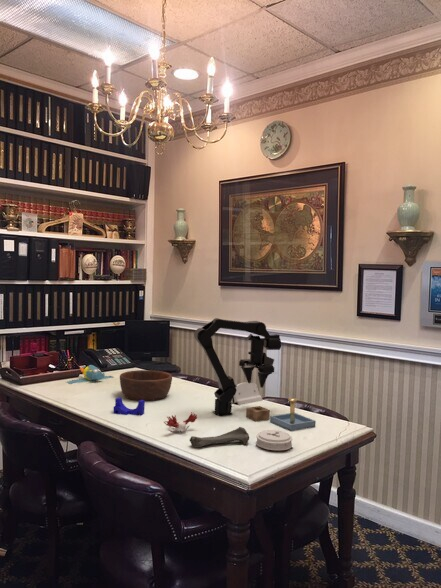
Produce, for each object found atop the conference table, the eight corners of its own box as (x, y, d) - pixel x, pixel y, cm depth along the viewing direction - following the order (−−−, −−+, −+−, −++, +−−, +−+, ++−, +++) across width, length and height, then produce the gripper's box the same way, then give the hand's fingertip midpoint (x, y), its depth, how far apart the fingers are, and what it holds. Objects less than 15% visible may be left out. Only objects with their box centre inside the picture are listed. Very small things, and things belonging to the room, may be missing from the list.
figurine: (184, 424, 197) (185, 407, 197) (203, 431, 188) (204, 414, 188) (153, 430, 187) (153, 413, 187) (171, 439, 178) (172, 420, 178)
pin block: (255, 421, 204) (256, 412, 204) (246, 417, 210) (246, 407, 210) (269, 419, 208) (269, 410, 208) (259, 415, 214) (259, 406, 214)
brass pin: (291, 424, 200) (291, 400, 200) (286, 422, 203) (286, 398, 203) (298, 423, 202) (298, 399, 201) (293, 421, 204) (292, 397, 204)
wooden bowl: (108, 398, 232) (109, 376, 231) (136, 387, 255) (137, 368, 255) (155, 405, 222) (156, 383, 222) (180, 394, 246) (181, 373, 245)
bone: (245, 440, 182) (245, 423, 181) (252, 446, 176) (253, 429, 175) (187, 445, 173) (188, 428, 173) (193, 451, 167) (194, 434, 167)
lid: (282, 456, 167) (282, 441, 167) (249, 447, 174) (250, 433, 173) (297, 445, 177) (298, 432, 177) (266, 438, 184) (267, 425, 184)
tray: (290, 431, 193) (290, 424, 193) (270, 422, 204) (270, 416, 204) (315, 426, 200) (315, 420, 200) (294, 418, 211) (294, 412, 211)
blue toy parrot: (106, 360, 283) (122, 365, 272) (105, 375, 283) (121, 381, 273) (61, 365, 262) (76, 371, 252) (60, 382, 263) (75, 388, 252)
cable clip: (113, 413, 207) (113, 399, 207) (118, 411, 212) (118, 397, 212) (140, 417, 205) (140, 402, 204) (144, 414, 209) (144, 400, 209)
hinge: (238, 405, 228) (234, 383, 230) (231, 406, 232) (227, 385, 234) (263, 400, 240) (258, 379, 242) (256, 401, 243) (252, 381, 245)
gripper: (285, 352, 213) (283, 388, 214) (259, 346, 229) (257, 379, 229) (264, 353, 207) (262, 390, 208) (239, 347, 223) (237, 381, 224)
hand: (255, 385), depth 217 cm, fingers open, 9 cm apart
